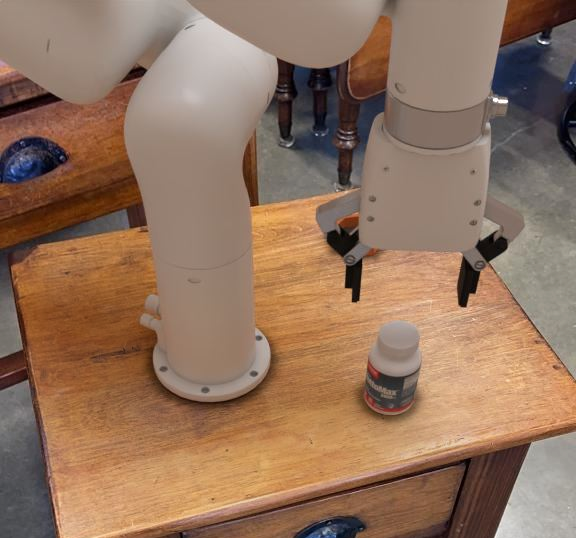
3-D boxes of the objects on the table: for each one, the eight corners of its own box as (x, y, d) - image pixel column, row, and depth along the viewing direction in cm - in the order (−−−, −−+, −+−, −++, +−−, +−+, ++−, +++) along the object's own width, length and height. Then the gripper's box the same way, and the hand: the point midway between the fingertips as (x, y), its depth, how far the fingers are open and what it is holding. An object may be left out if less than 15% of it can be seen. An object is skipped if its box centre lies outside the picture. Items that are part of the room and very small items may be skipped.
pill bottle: (353, 399, 86) (360, 334, 79) (384, 372, 89) (393, 307, 82) (393, 424, 84) (404, 360, 77) (424, 397, 87) (437, 332, 79)
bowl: (323, 245, 102) (324, 232, 100) (348, 221, 105) (349, 208, 103) (365, 262, 100) (366, 250, 98) (390, 237, 103) (391, 224, 101)
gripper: (546, 89, 64) (500, 273, 77) (321, 82, 64) (315, 265, 78) (558, 142, 59) (507, 327, 73) (316, 133, 60) (311, 318, 74)
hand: (408, 295), depth 75 cm, fingers open, 9 cm apart
